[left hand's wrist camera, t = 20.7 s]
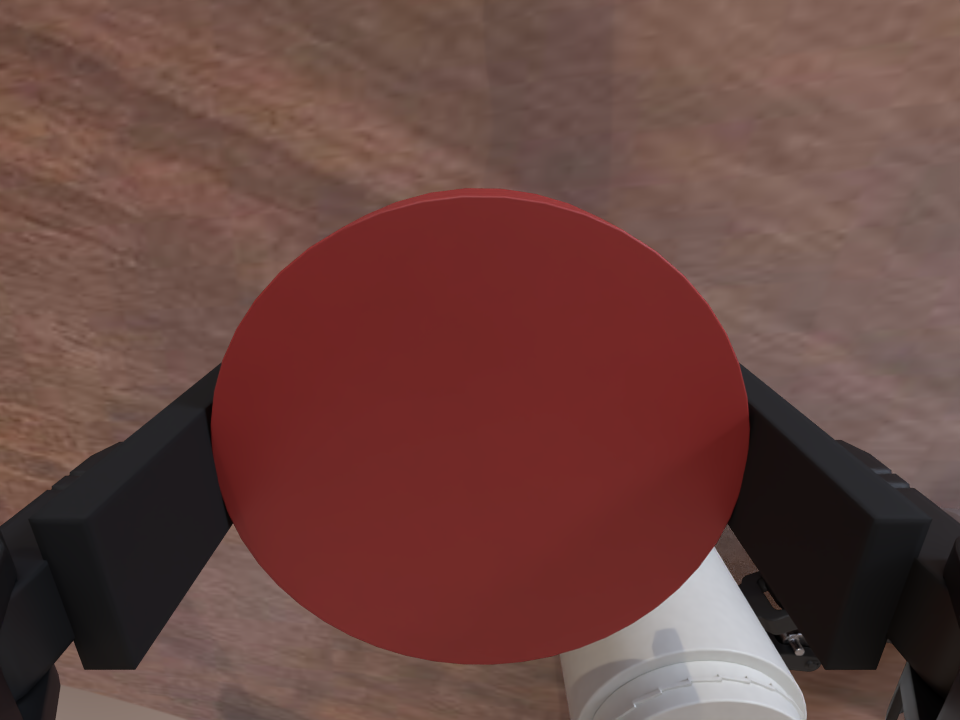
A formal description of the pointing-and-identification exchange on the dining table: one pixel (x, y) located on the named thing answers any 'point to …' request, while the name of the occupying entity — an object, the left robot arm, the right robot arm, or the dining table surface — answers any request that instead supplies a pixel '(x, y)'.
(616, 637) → the jar
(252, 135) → the dining table surface
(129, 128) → the dining table surface
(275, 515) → the lid
